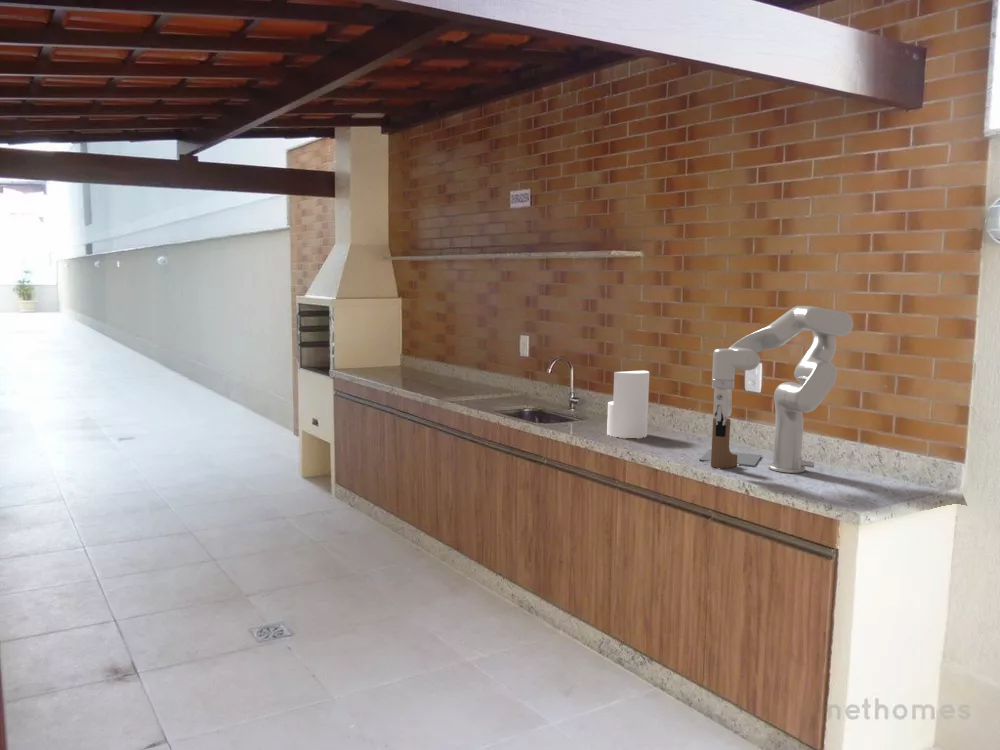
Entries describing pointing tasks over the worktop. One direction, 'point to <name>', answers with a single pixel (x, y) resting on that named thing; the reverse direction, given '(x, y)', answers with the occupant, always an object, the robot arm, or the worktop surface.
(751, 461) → the mat
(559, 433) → the worktop surface
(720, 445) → the wooden block
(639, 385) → the stepped white pillar
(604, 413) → the worktop surface
